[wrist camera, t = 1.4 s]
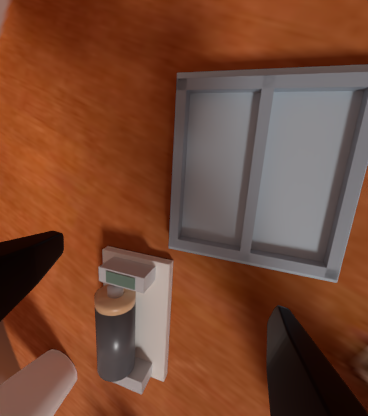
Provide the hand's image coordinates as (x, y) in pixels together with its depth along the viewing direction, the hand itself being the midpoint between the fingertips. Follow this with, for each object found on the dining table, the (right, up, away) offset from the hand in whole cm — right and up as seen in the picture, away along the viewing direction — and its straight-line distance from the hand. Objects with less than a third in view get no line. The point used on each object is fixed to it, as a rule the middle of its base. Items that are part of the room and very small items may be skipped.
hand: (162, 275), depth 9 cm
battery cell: (-5, -10, +17) cm, 20 cm away
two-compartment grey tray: (+7, +5, +10) cm, 13 cm away
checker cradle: (-5, -9, +18) cm, 20 cm away
